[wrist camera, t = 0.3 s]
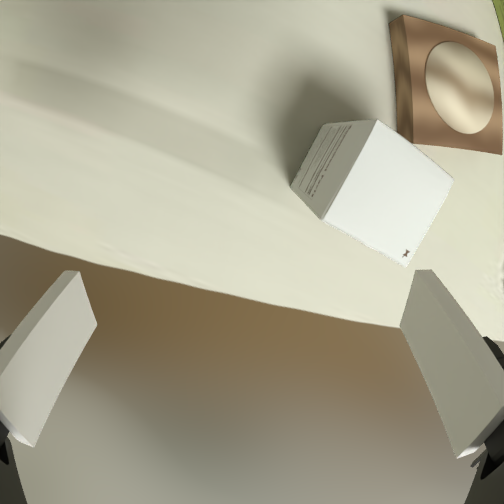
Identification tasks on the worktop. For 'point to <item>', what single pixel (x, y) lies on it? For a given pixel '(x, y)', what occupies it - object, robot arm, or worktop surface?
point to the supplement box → (372, 186)
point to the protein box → (500, 13)
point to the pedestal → (446, 87)
